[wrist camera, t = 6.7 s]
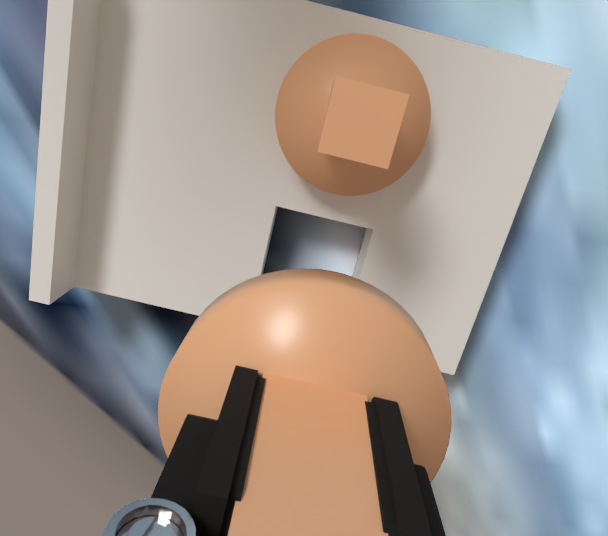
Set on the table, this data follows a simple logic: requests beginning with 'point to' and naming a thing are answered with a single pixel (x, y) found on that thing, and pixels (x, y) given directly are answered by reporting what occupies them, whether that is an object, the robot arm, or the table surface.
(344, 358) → the dome with square post
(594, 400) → the table surface
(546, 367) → the table surface
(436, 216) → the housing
